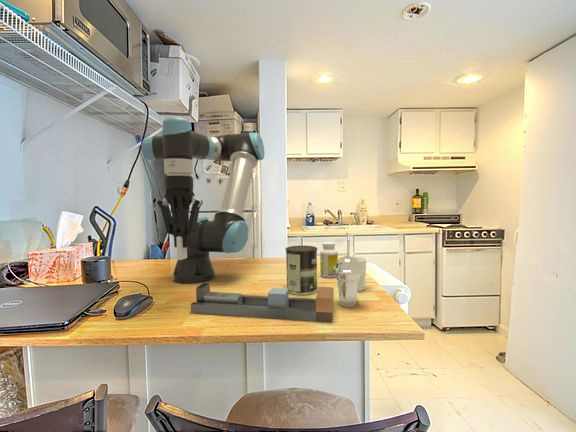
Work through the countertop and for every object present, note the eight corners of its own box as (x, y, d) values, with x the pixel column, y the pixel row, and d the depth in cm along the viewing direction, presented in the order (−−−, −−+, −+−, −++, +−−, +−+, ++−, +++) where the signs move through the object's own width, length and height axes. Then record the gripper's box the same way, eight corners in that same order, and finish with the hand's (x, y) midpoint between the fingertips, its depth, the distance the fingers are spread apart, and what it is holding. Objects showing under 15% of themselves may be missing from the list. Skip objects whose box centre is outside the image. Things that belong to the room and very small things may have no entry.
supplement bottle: (340, 275, 116) (340, 242, 115) (333, 279, 110) (333, 245, 109) (324, 272, 119) (324, 241, 118) (317, 276, 114) (317, 243, 113)
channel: (190, 313, 81) (190, 291, 80) (206, 301, 89) (205, 281, 89) (332, 322, 73) (332, 298, 73) (333, 308, 82) (333, 287, 82)
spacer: (268, 315, 78) (267, 293, 78) (272, 308, 83) (272, 287, 82) (285, 316, 78) (285, 294, 77) (288, 309, 82) (288, 288, 82)
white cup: (361, 293, 94) (361, 262, 93) (338, 289, 98) (338, 260, 97) (369, 287, 100) (369, 257, 100) (347, 283, 105) (347, 255, 104)
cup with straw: (327, 305, 85) (327, 235, 83) (341, 296, 92) (340, 232, 90) (356, 311, 80) (356, 238, 78) (367, 301, 87) (368, 233, 86)
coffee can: (318, 285, 103) (318, 245, 101) (315, 296, 92) (315, 251, 91) (289, 284, 105) (289, 244, 103) (283, 294, 94) (282, 250, 93)
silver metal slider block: (196, 308, 83) (195, 287, 82) (204, 303, 87) (203, 283, 87) (237, 311, 80) (236, 289, 80) (243, 305, 85) (242, 284, 84)
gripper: (149, 175, 81) (153, 261, 82) (193, 174, 78) (196, 262, 80) (165, 176, 88) (169, 255, 90) (206, 175, 85) (209, 256, 87)
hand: (182, 258), depth 85 cm, fingers closed
